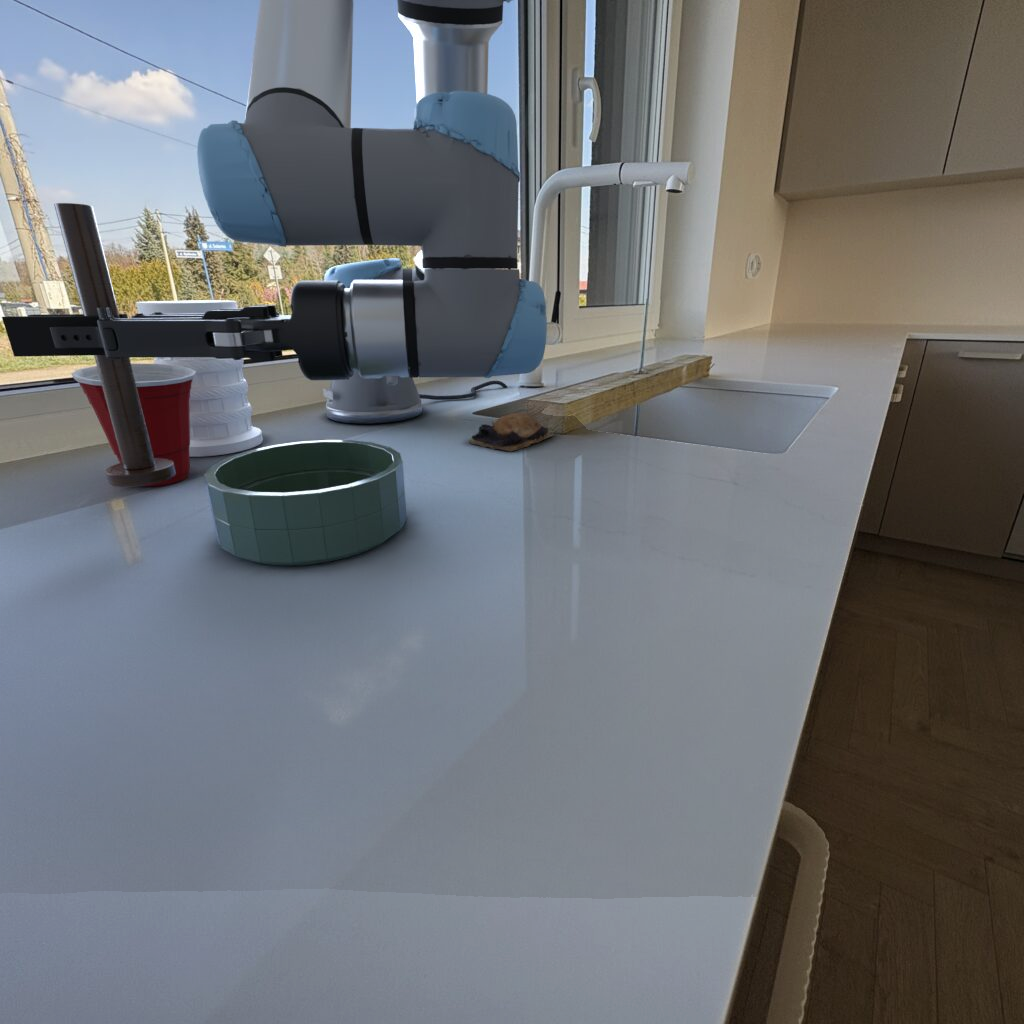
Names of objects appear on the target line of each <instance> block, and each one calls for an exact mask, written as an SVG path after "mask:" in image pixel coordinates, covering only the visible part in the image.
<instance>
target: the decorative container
mask: <svg viewBox="0 0 1024 1024" xmlns="http://www.w3.org/2000/svg"><path fill="white" fill-rule="evenodd" d="M135 303H136V308H137V313H143V314H144V315H150V314H152V313H154V312H161V313H163V314H193V313H206V312H207V311H211V310H220V309H227V308H238V302H237V301H236V300H225V299H224V300H223V299H221V300H219V299H218V300H217V299H216V300H215V299H214V300H211V299H210V300H208V299H207V300H206V299H205V300H203V299H201V300H197V299H196V300H195V299H194V300H193V299H192V300H152V301H151V300H149V301H136V302H135ZM244 361H245V360H244V358H241V360H234V359H232V358H229V359H217V358H215V357H154V358H153V364H163V365H176V366H181V367H186V368H190V369H192V370H194V371H196V375H195V377H194V379H193V380H192V383H191V390H190V399H189V412H190V446H189V455H190V457H192V458H193V457H194V458H195V457H196V458H198V457H200V458H201V457H213V456H221V455H222V456H223V455H229V454H234V453H238V452H244V451H248V450H251V449H254V448H255V447H257V446H259V445H260V444H263V441H264V438H263V431H262V430H261V429H260V428H259V427H256V426H253V421H252V418H251V416H252V415H253V407H252V406H251V403H250V402H249V399H248V394H247V392H248V391H249V385H248V384H249V383H248V381H247V380H246V379H245V376H244V371H243V367H244Z"/></svg>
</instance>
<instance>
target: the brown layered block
mask: <svg viewBox="0 0 1024 1024" xmlns="http://www.w3.org/2000/svg"><path fill="white" fill-rule="evenodd" d="M553 436H554V431H553V430H551V429H549V428H548V427H545V426H543V425H542V424H541V423H540V421H538V420H537V419H536V418H535V417H532V416H531V415H530V414H527V413H524V412H512V413H509V414H504V415H502V416H500V417H497V419H495V420H494V421H492V422H491V425H490V424H486V423H483V424H481V425H480V426H479V427H478V432H477V433H476V434H474V435H472V436H471V438H470V439H468V441H469V444H471V445H477V446H480V447H484V448H486V447H488V448H490V449H492V450H496V449H497V450H501V451H506V452H510V453H511V452H513V451H517V450H521V449H523V448H525V447H527V448H528V447H529V446H531V444H537V443H540V442H542V441H543V440H547V439H548V438H551V437H553Z"/></svg>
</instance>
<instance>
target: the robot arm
mask: <svg viewBox="0 0 1024 1024" xmlns="http://www.w3.org/2000/svg"><path fill="white" fill-rule="evenodd" d="M354 1H355V0H259V4H258V5H259V6H258V13H257V21H256V30H255V37H254V45H253V53H252V60H251V62H252V63H251V68H250V77H249V84H248V91H247V101H246V107H245V108H246V109H245V115H244V123H242V122H238V120H230V121H229V122H228V123H210V124H209V125H208V126H207V127H205V128H202V130H201V131H200V133H199V137H198V139H197V151H196V154H197V155H196V158H197V168H198V175H199V181H200V185H201V189H202V192H203V195H204V199H205V202H206V205H207V207H208V210H209V213H210V215H211V216H212V218H213V220H214V223H215V224H216V226H217V227H218V229H219V230H220V231H221V233H223V235H225V236H226V237H227V238H228V239H230V240H232V241H235V242H238V243H245V244H257V245H269V246H279V247H282V248H286V247H288V246H294V247H295V246H403V247H405V246H406V247H407V246H408V247H420V249H421V250H420V251H419V252H417V254H416V256H415V258H414V266H415V268H403V263H402V262H401V260H400V258H398V257H393V258H383V259H373V260H364V261H356V262H350V263H344V264H339V265H334V266H332V267H330V268H328V269H327V270H326V272H325V274H324V278H323V279H324V280H299V281H297V282H295V284H293V287H292V289H291V293H290V294H291V295H290V307H291V311H292V312H291V314H289V315H288V314H280V312H279V311H277V307H276V304H256V305H255V304H254V305H251V306H250V305H249V306H244V307H241V308H240V307H237V308H227V309H220V310H211V311H207V312H206V313H193V314H163V313H161V312H154V313H152V314H150V315H144V314H143V313H138V312H137V313H135V314H132V315H130V317H128V313H119V317H120V318H114V317H113V316H112V313H111V309H110V307H102V308H97V311H98V315H99V316H83V313H69V314H68V313H61V314H60V313H59V314H57V313H55V314H54V313H53V314H52V313H51V314H50V313H49V314H45V313H44V314H43V313H42V314H41V313H40V314H27V315H23V316H22V315H21V316H20V315H18V316H15V315H14V316H12V315H11V316H1V320H2V322H3V326H4V329H5V333H6V336H7V338H8V341H9V345H10V348H11V351H12V354H13V357H19V358H21V357H70V356H71V357H72V356H73V357H74V356H75V357H76V356H80V357H81V356H94V355H106V357H108V358H112V359H121V358H122V357H129V358H155V357H215V358H217V359H229V358H232V359H234V360H241V358H243V359H250V360H251V361H254V362H270V361H275V360H276V358H277V357H278V358H279V357H283V351H284V352H285V351H293V352H294V353H295V355H296V357H297V358H298V361H297V363H298V366H299V368H300V371H301V373H302V375H303V376H304V377H305V378H306V379H308V380H309V381H330V383H329V388H328V390H327V389H325V388H323V389H322V391H323V397H324V398H327V399H326V403H325V409H326V416H327V418H328V419H329V420H331V421H335V422H338V423H339V422H340V423H345V424H346V423H347V424H384V423H393V422H399V421H400V422H401V421H405V420H410V419H413V418H416V417H418V416H419V415H421V414H422V412H423V408H422V407H423V406H422V405H423V404H422V399H424V400H433V401H444V400H445V401H446V400H447V401H449V400H463V399H470V398H474V397H475V396H477V393H478V392H477V391H478V390H481V389H483V388H486V387H488V386H492V385H498V386H501V387H502V388H503V389H508V387H509V386H508V385H507V384H506V383H504V382H503V381H500V380H490V381H486V382H483V383H481V384H478V385H475V386H473V387H471V388H470V392H471V393H470V392H469V393H464V394H463V393H462V394H454V395H453V394H452V395H432V394H422V393H420V394H419V391H418V389H417V386H416V383H415V380H414V379H415V378H484V379H490V378H492V377H501V376H509V375H510V376H511V375H524V374H530V373H532V372H534V371H535V370H536V369H537V368H538V367H539V366H540V364H541V363H542V361H543V358H544V354H545V351H546V344H547V332H548V318H547V315H546V314H547V312H546V311H547V303H546V297H545V293H544V289H543V288H542V286H541V285H540V284H539V283H538V282H536V281H533V280H526V278H521V277H520V269H519V268H518V261H519V260H518V238H519V237H518V236H519V189H520V188H519V183H520V181H521V172H520V170H519V149H518V145H519V144H518V126H517V125H518V124H517V118H516V114H515V112H514V110H513V108H512V107H511V106H510V104H509V103H508V102H506V101H505V100H503V99H502V98H500V97H499V96H496V95H492V94H491V93H488V89H489V88H488V87H489V86H488V83H489V46H490V45H489V43H490V40H491V38H492V36H493V35H494V34H495V33H496V31H497V30H498V29H499V28H500V27H501V25H502V24H503V17H504V2H506V3H507V4H509V3H511V2H512V1H513V0H397V16H398V18H399V19H400V21H401V22H402V23H403V24H404V25H405V27H406V28H407V30H408V31H409V32H410V34H411V36H412V37H413V39H412V40H413V58H414V77H415V95H416V104H415V107H414V112H413V114H414V116H413V119H414V120H413V121H412V128H375V127H351V125H352V124H351V123H352V122H351V121H352V84H353V83H352V82H353V81H352V77H353V45H354V44H353V38H354V36H353V35H354V3H355V2H354Z"/></svg>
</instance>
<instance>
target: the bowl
mask: <svg viewBox="0 0 1024 1024" xmlns="http://www.w3.org/2000/svg"><path fill="white" fill-rule="evenodd" d="M403 463H404V461H403V458H402V455H401V453H400V452H398V451H397V450H395V449H394V448H392V447H390V446H387V445H383V444H379V443H376V442H370V441H360V440H353V439H352V440H351V439H323V440H321V439H320V440H302V441H295V442H294V441H293V442H287V443H279V444H274V445H268V446H263V447H259V448H253V449H248V450H245V451H242V452H241V453H237V454H234V455H231V456H228V457H225V458H224V459H222V460H219V461H218V462H216V463H214V464H213V465H210V467H208V469H207V471H206V472H205V473H204V474H203V481H204V484H205V491H206V495H207V500H208V504H209V509H210V513H211V518H212V522H213V527H214V531H215V536H216V540H217V542H218V544H219V547H220V548H221V549H222V550H223V551H225V552H227V553H229V554H231V555H232V556H234V557H237V558H240V559H244V560H247V561H250V562H253V563H257V564H263V565H272V566H305V565H306V566H307V565H315V564H316V565H317V564H322V563H328V562H334V561H338V560H343V559H346V558H350V557H353V556H357V555H359V554H362V553H365V552H368V551H369V550H372V549H374V548H375V547H378V546H379V545H381V544H383V543H384V542H386V541H387V540H388V539H390V538H391V537H392V536H394V535H395V534H396V533H398V532H399V531H401V530H402V528H403V526H404V524H405V522H406V521H407V520H408V519H407V516H408V515H407V503H406V502H407V501H406V491H405V476H404V464H403Z"/></svg>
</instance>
